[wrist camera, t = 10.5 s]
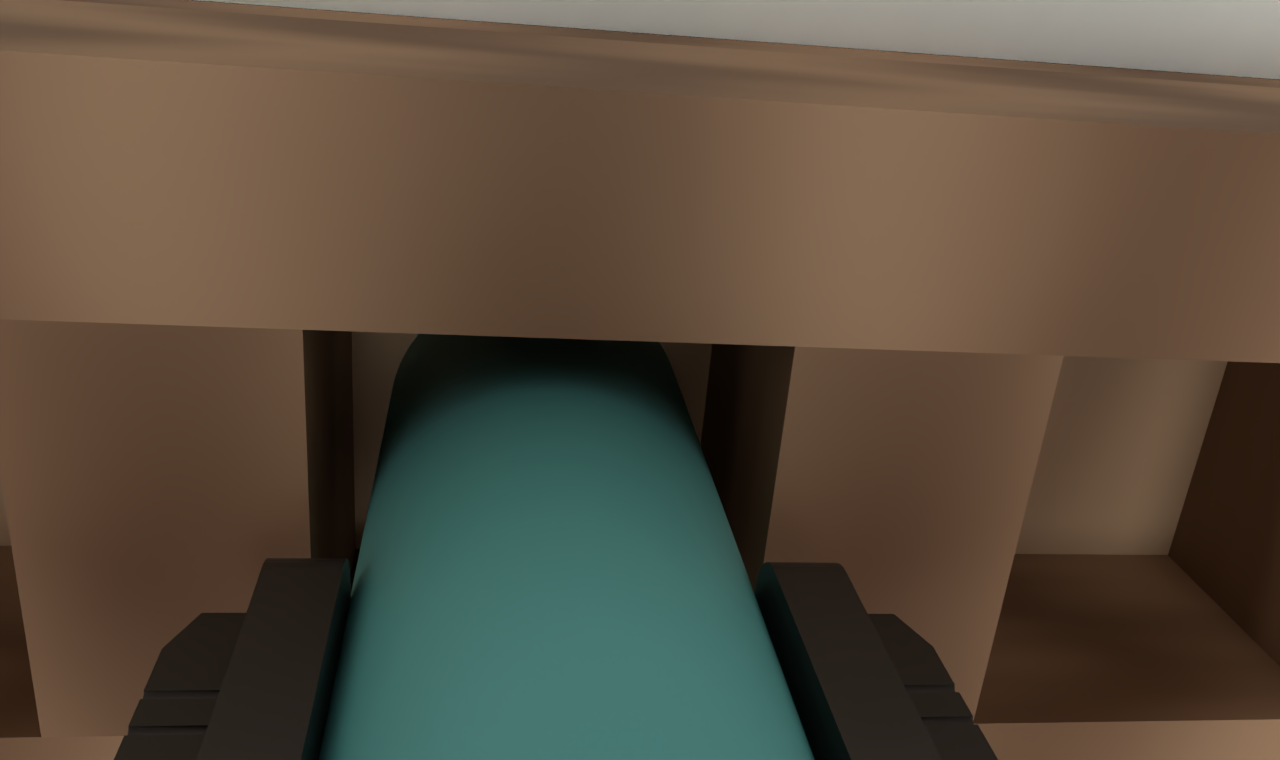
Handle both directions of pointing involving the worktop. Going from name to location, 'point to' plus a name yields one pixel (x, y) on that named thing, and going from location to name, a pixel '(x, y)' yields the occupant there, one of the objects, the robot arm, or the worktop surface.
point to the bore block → (651, 333)
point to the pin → (551, 571)
